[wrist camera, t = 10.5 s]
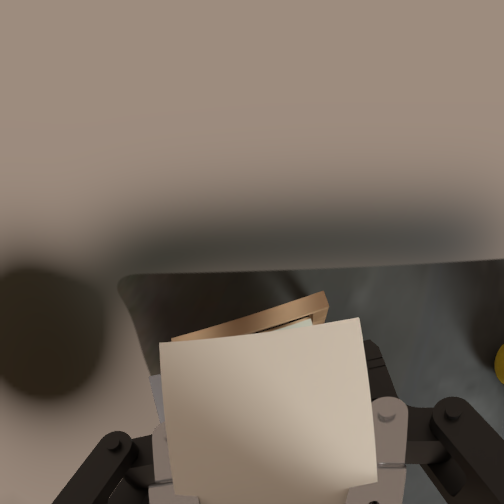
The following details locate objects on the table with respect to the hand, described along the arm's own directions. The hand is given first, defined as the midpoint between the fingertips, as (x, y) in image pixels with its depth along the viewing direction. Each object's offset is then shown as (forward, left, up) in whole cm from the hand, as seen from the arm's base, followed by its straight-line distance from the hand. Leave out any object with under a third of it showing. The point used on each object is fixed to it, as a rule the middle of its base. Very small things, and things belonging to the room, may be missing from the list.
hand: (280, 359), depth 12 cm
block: (0, +2, -4) cm, 5 cm away
